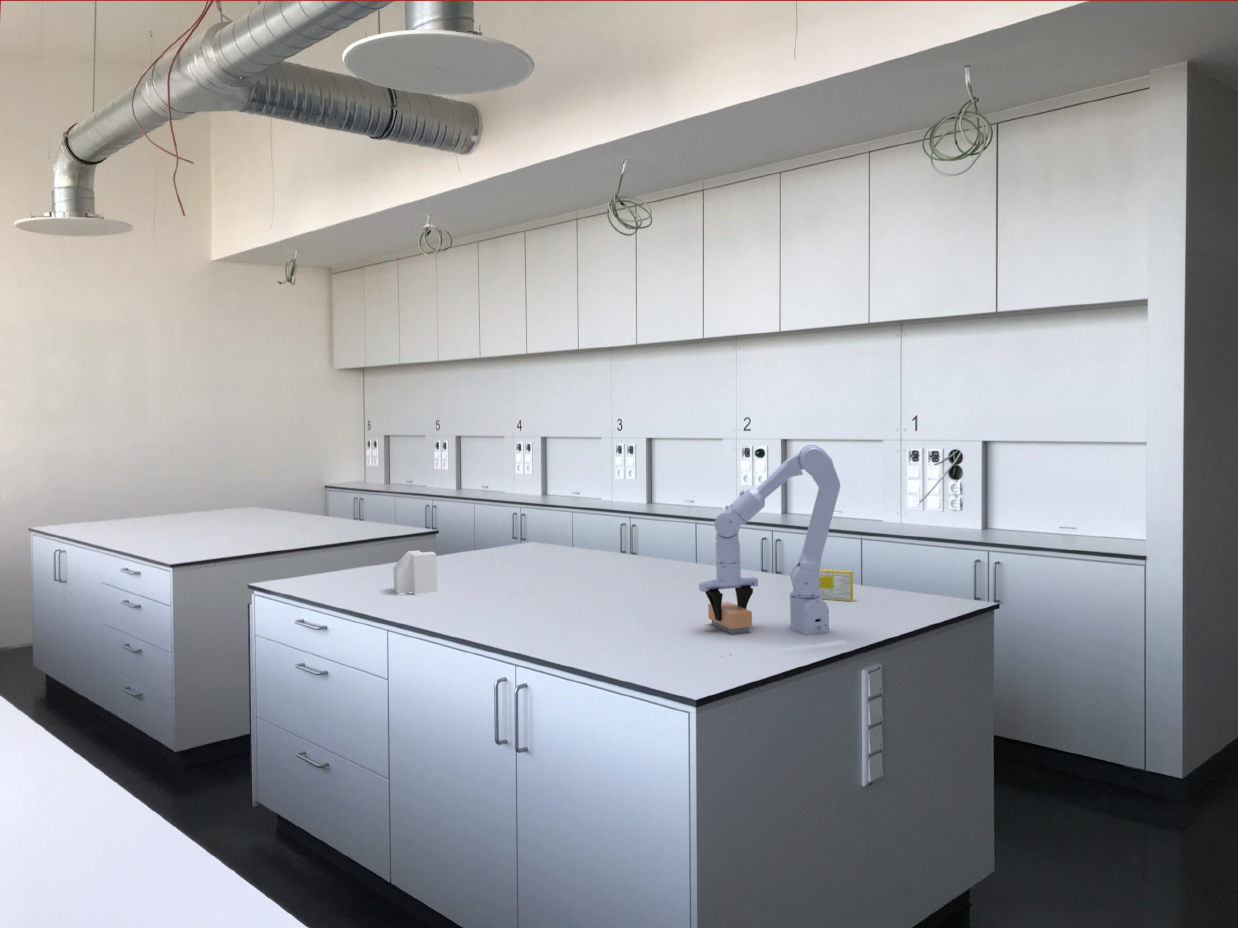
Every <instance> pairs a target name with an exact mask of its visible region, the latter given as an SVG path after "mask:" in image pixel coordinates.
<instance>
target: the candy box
mask: <svg viewBox="0 0 1238 928" xmlns="http://www.w3.org/2000/svg"><path fill="white" fill-rule="evenodd" d="M853 578H854V571H853V570H838V569H837V570H836V569H824V568H823V569H821V568H820V571H819V580H820V587H819V590H818V591H820V592H821V598H822V600H823V601H825V600H826V601H839V602H849V603H852V602H853V601H854V579H853Z"/></svg>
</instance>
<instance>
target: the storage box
mask: <svg viewBox="0 0 1238 928" xmlns="http://www.w3.org/2000/svg"><path fill="white" fill-rule="evenodd" d="M711 625H712V626H715V627H717V628H719V629H720V630H723V631H725V632H726V633H729V634H731V635H738V634H746V633H749V627H745V628H737V629H730V628H728V627H726V626H723V625H721V624H719V623H717V622H715V621H713V620H711Z"/></svg>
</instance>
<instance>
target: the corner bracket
mask: <svg viewBox="0 0 1238 928" xmlns="http://www.w3.org/2000/svg"><path fill="white" fill-rule="evenodd" d="M437 568H438V567H437V553H435V552H434V551H426V552H425V551H420V550H408V551H407V552H406V553H405V554H404V555H402V557H401V558H400V559H399V560H398V561H397V563H396V564H395V565H394V566H393V567H392V569H393V571H392V573H393V591H394V590H395V591H396V592H397V593H398V594H400V593H409V592H414V593H415V594H420V593H429V592H438V571H437ZM395 591H394V592H395ZM396 592H395V593H396ZM438 593H439V592H438ZM415 594H414V595H415Z"/></svg>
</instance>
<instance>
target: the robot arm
mask: <svg viewBox="0 0 1238 928" xmlns="http://www.w3.org/2000/svg"><path fill="white" fill-rule="evenodd" d="M802 470H804V471H805V472H806V473H807V474H809V475H810V476H811V477H812V480H813V481H814V482H815V484H816V485H817V487H818V490H817V494H816V497H815V501H814V505H813V508H812V513H811V517H810V520H809V524H808V527H807V531H806V534H805V540H804V543H803V547H802V550H801V553H800V555H799V559H798V562H797V564H796V565H795V566H794V568H793V569H792V571H791V573H790V581H791V583H792V588H793V589H792V590H791V591H790V592H789V617H790V618H789V619H790V630H791V631H794V632H799V633H802V634H804V635H815V634H816V635H817V634H824V633H829V632H830V609H829V605H828V604H827V603H826V602H825V600H823V599H822V598H821V592H820V591H818V590H819V587H820V580H819V571H820V569H821V564H822V558H823V557H822V556H823V552H824V550H825V545H826V542H827V538H828V535H829V530H830V528H831V523H832V519H833V516H834V512H835V508H836V505H837V500H838V496H839V493H840V488H841V482H840V478H839V476H838V474H837V471H836V469H835V466H834V461H833V460H832V458H831V457H830V456H829V454H828V453H827V452H826V450H824V449H823V448H821V447H820V446H818V445H816V444H809V445H806V446H803V447H802V448H801V450H800V451H799V452H796V453H795V454H792V455H791V456H790V457H788V458H787V459H786V460H785V461H783V463H781V464H780V466H778V467H777V468H776V469H775V470H774V471H773V472H772V473H771V474H770V475H769V476H768V477H767V478H765V480H764V481H763V482H761V484H760V485H759V486H758V487H757V488H747V489H746V490H741V491H739V493H738V495H739V496H738V497H737V498H736V499H735V500H734V501H733V502H732V503H731V504H727V505H725V506H724V510H725V511H721V512H720V513H718V515H717V516H716V518H715V521H714V529H715V532H716V534H715V540H716V542H715V563H716V564H715V565H716V567H715V568H716V569H715V570H716V572H715V573H716V579H713V580H708V581H707V580H706V581H702V582H698V583H699V584H698V585H699V588H698V589H699V591H700V592H702V593H705V595H706V597H707V599H708V601H709V604H711V605H712V608H713V612H714V615H715V619H716V620H718V621H721V618H722V612H721V604H722V602H723V597H724V594H723V593H722V592H721V591H720V590H726V589H728V590H729V589H735V595H736V596H735V597H736V603H737V604H736V605H737V606H740V607H742V608H745V609H747V607H748V603H749V602H750V599H751V597H752V595H753V593H754V588H753V587H759V578H758V577H755V576H753V577H751V576H750V577H741V573H742V572H741V571H742V570H741V544H740V541H739V531H740V528H741V525H745V524H747V523H748V522H749V521H751V520H752V518H754V517H755V516H756V515H757V514H758V513H759V512H761V511H762V510H763V509H764V508H765V505H766V499H767V498H768V497H769V496H770V495H771V494H772V493H774V491H776V490H777V489H778V488H780V486H782V485H783V484H784V483H785V482H787V481H788V480H789V479H791V478H793V477H799V476H802V475H804V472H803V471H802Z"/></svg>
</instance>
